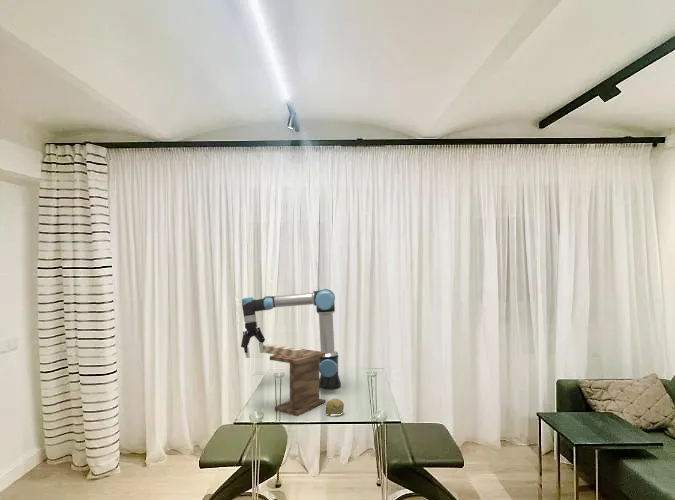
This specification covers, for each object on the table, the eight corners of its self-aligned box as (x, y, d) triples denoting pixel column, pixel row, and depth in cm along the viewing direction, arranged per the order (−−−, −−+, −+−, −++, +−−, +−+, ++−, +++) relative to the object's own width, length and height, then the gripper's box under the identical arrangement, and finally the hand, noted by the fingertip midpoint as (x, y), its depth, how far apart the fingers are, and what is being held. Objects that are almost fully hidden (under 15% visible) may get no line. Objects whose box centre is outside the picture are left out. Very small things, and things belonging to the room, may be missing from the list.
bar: (262, 352, 277) (262, 345, 277) (268, 351, 280) (268, 344, 280) (297, 357, 262) (297, 350, 262) (302, 356, 266) (302, 349, 266)
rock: (329, 417, 265) (320, 402, 264) (346, 406, 266) (337, 391, 265) (331, 424, 256) (321, 409, 254) (348, 413, 257) (339, 398, 255)
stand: (269, 409, 268) (269, 355, 268) (298, 397, 289) (298, 347, 290) (297, 416, 257) (297, 360, 257) (325, 403, 278) (325, 351, 278)
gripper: (258, 318, 314) (263, 350, 313) (232, 325, 292) (237, 360, 292) (267, 318, 310) (272, 350, 309) (241, 324, 289) (246, 359, 288)
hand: (255, 355), depth 300 cm, fingers open, 13 cm apart
